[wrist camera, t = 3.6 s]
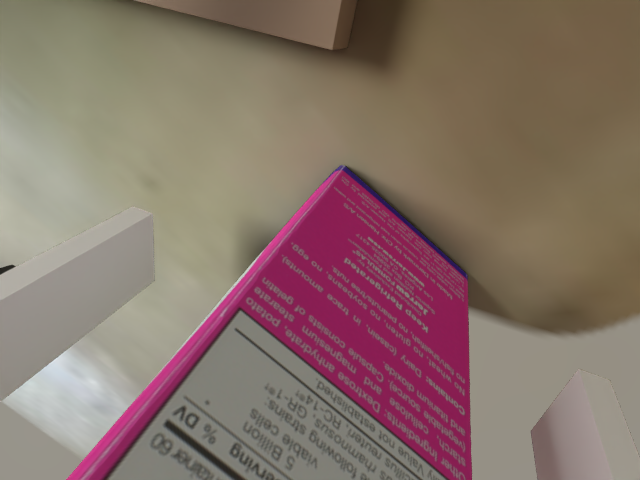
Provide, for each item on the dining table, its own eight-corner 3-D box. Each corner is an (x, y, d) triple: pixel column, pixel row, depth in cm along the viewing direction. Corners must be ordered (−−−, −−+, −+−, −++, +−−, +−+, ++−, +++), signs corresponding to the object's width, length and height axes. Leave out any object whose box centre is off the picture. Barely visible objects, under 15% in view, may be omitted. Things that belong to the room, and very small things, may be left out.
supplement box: (366, 356, 16) (214, 822, 7) (255, 261, 16) (-71, 611, 6) (478, 277, 13) (494, 933, 4) (344, 156, 13) (-31, 531, 3)
